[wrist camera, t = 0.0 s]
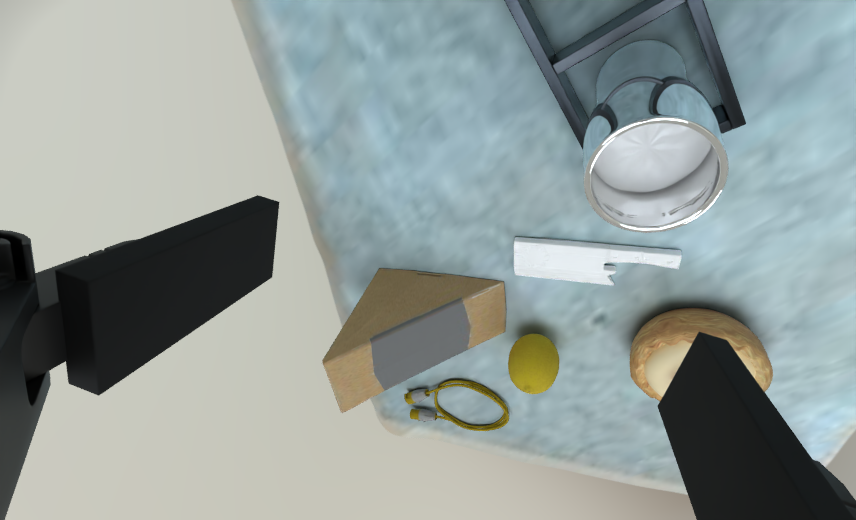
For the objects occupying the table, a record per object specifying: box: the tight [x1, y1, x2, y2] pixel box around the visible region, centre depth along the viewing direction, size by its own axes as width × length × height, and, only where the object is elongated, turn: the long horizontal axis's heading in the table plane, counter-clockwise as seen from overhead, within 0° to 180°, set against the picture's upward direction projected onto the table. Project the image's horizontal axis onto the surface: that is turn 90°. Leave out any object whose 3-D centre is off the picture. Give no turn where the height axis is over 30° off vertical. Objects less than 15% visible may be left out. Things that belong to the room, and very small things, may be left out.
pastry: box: [630, 308, 773, 401], centre depth 44 cm, size 12×12×9 cm
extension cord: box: [405, 380, 509, 431], centre depth 67 cm, size 12×16×2 cm
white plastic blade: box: [514, 237, 682, 286], centre depth 44 cm, size 5×15×1 cm, turn 97°
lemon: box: [508, 334, 559, 394], centre depth 51 cm, size 6×6×8 cm
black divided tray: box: [504, 0, 746, 149], centre depth 31 cm, size 10×19×3 cm, turn 36°
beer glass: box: [583, 40, 728, 233], centre depth 28 cm, size 7×7×15 cm
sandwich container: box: [323, 268, 506, 413], centre depth 49 cm, size 9×15×15 cm, turn 97°
